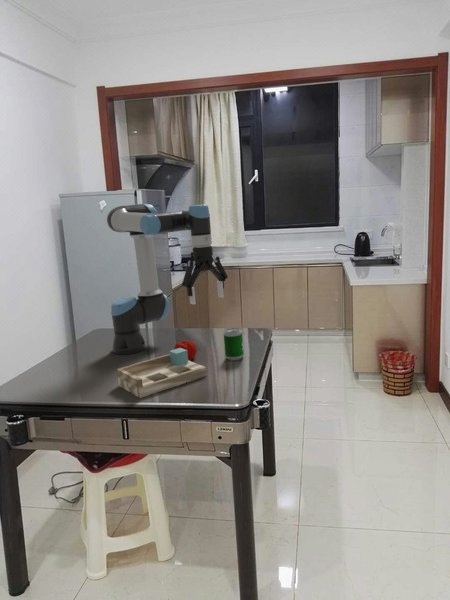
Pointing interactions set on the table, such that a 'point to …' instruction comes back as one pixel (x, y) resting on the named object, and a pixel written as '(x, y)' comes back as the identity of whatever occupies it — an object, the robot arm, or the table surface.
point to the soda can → (233, 344)
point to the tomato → (187, 348)
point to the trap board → (157, 375)
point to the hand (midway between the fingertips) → (207, 300)
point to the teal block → (178, 356)
